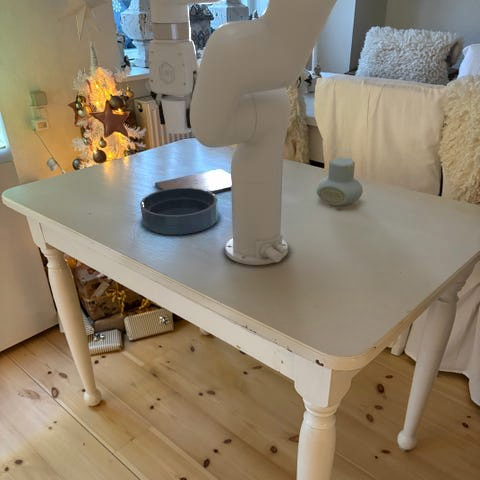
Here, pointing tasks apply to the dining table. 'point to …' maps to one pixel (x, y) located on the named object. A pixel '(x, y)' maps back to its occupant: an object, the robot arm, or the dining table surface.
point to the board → (200, 182)
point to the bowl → (179, 210)
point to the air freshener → (340, 184)
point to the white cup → (175, 114)
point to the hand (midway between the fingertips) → (178, 124)
